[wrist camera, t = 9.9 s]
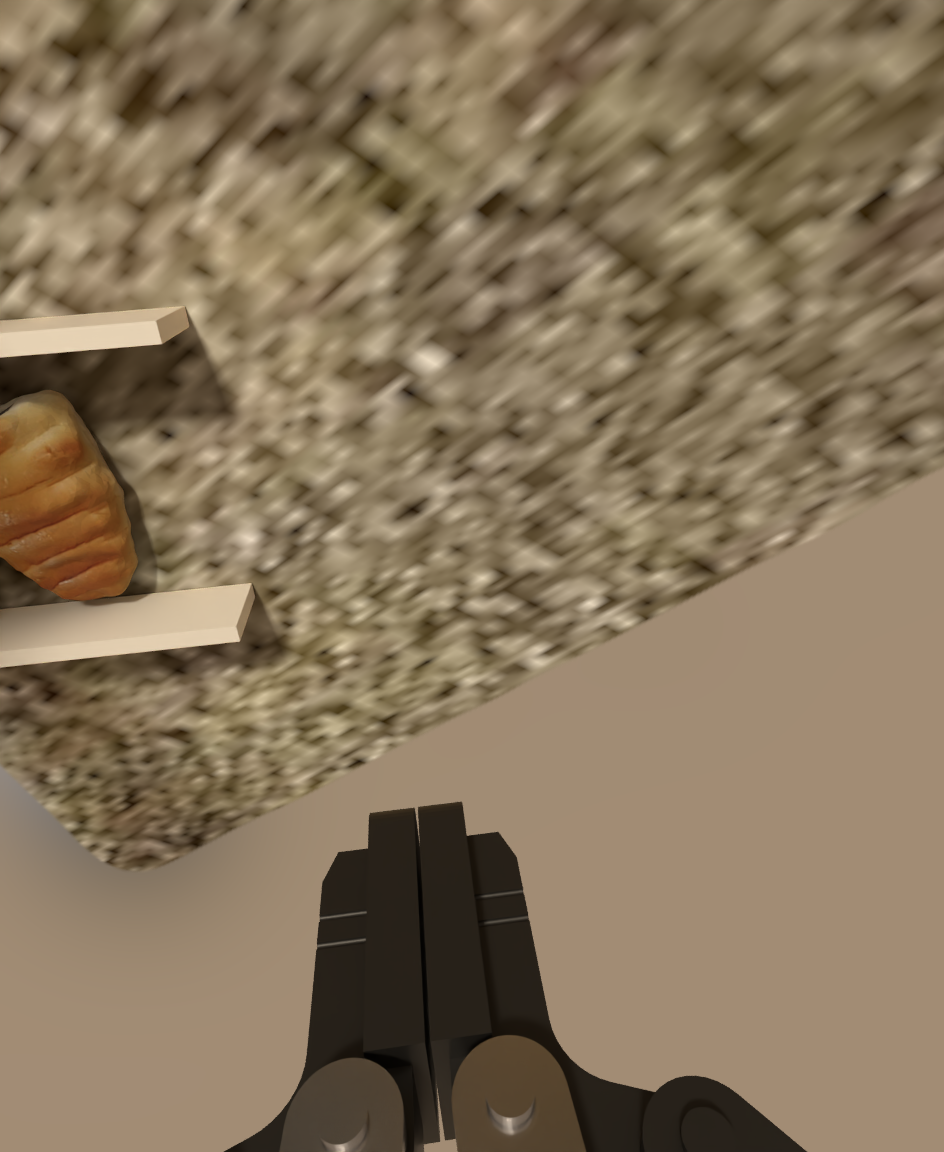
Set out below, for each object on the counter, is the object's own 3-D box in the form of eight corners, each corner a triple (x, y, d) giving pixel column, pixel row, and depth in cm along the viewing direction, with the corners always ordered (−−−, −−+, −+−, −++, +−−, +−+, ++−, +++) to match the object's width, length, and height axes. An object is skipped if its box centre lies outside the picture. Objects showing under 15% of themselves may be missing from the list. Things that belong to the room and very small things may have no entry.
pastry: (183, 557, 34) (159, 597, 30) (58, 605, 34) (21, 649, 31) (63, 371, 29) (20, 393, 26) (-78, 429, 30) (-138, 458, 27)
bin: (-147, 332, 28) (-226, 351, 24) (184, 305, 28) (156, 320, 25) (-13, 625, 34) (-59, 673, 31) (255, 597, 35) (240, 641, 31)
